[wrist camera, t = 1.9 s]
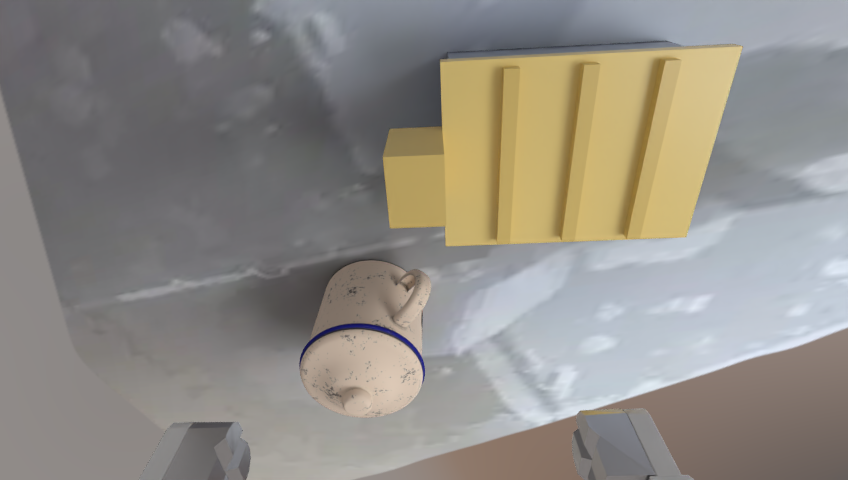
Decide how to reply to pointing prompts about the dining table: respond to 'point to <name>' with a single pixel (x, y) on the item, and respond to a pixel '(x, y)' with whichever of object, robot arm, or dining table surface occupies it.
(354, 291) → the teacup with lid
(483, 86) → the yellow flat ridged piece
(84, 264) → the dining table surface
